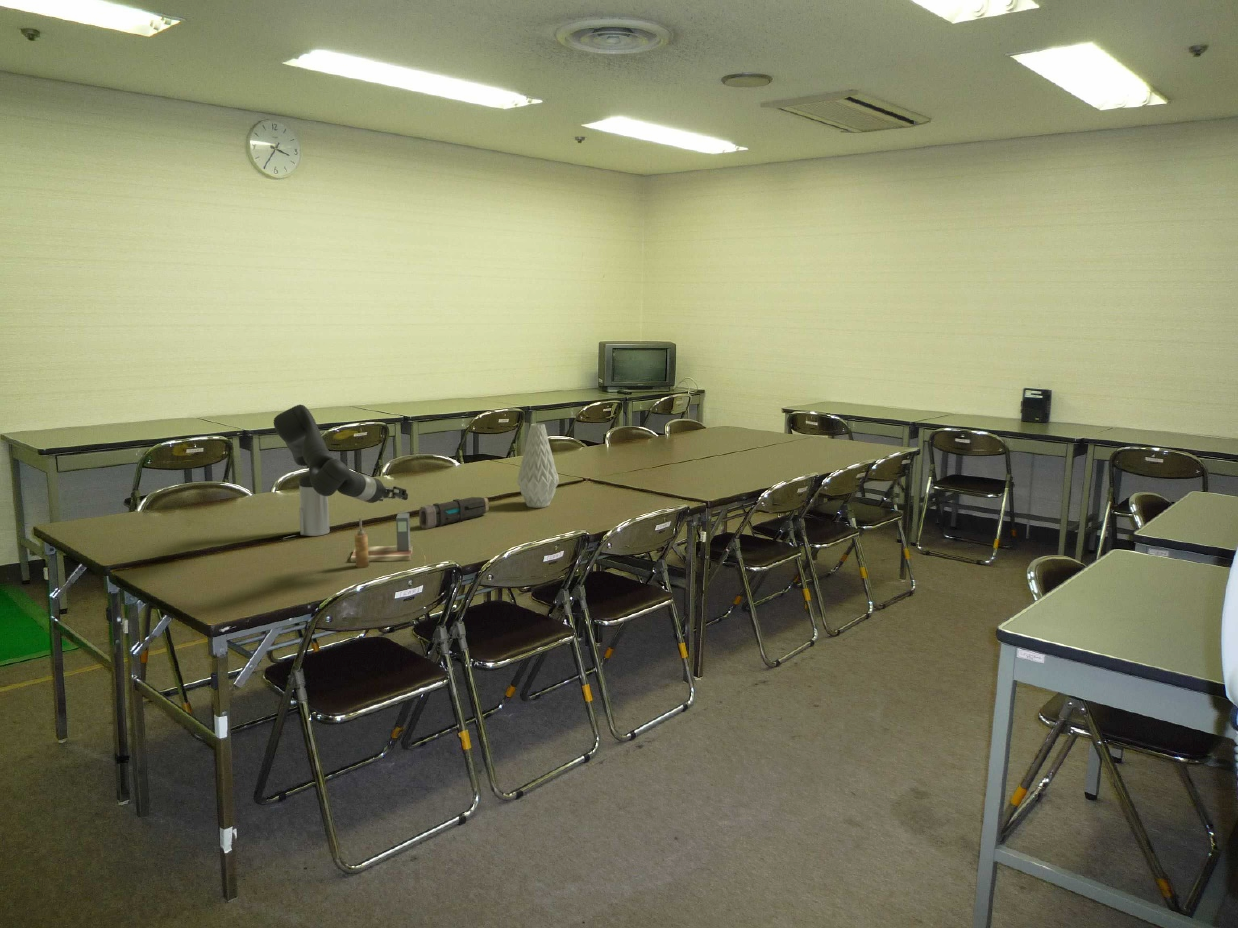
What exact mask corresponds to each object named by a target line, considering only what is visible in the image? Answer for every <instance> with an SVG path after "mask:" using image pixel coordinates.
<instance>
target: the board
mask: <svg viewBox="0 0 1238 928" xmlns="http://www.w3.org/2000/svg"><path fill="white" fill-rule="evenodd" d="M413 546H414V545H411V544H410V549H409V551H397V545H381V546H368V560H369V562H394V561H395V562H402V561H411V558H412V554H413V549H414V547H413ZM350 556H351V557H350V562H351V563H356V557H355V549H354V550H353V553H352V554H351V555H350Z"/></svg>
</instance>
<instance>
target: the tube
mask: <svg viewBox="0 0 1238 928" xmlns="http://www.w3.org/2000/svg"><path fill="white" fill-rule="evenodd" d="M489 503H490V502H489V499H488V498H487V497H482V496H481V497H480V496H471V497H466V498H461V499H459V498H456V499H455V498H454V499H453V500H452V501H451V500H450V501H447V502H442V503H438V502H437V503H436V502H435V503H433V504H432V505H431V504H427V505H421V506H420V508H419V509H418V515H419V516H418V518H419V519H418V521H419V522H418V523H419V526H420V529H424V530H429V529H433V528H436V527H443V525H447V524H452V523H453V524H454V523H461V522H464V521H465V520H470V519H474V518H475V519H476V518H479V517H480V516H483V515H485V514H486V513H487V512H489V510H490V506H489Z"/></svg>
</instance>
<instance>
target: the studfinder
mask: <svg viewBox="0 0 1238 928" xmlns="http://www.w3.org/2000/svg"><path fill="white" fill-rule="evenodd" d="M410 521H411V520H410V513H409V512H403V513H402V512H400V513H397V515H396V518H395V522H396V523H395V524H396V546H397V551H409V549H410V545H411V524H410Z"/></svg>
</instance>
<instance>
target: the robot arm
mask: <svg viewBox="0 0 1238 928" xmlns="http://www.w3.org/2000/svg"><path fill="white" fill-rule="evenodd" d="M273 427H274V429H275V431H276V433H277V435H278V436H279V438H281V440H282V441H283V442H285V445H286V446H287V448H288V450H289V451H290V452H291V454H292V458H293V461H294V462H295V464H296V465H298V466H300V467H301V466H302V467H306V466H307V467H308V472H309V473H306V474H303V475H301V476H300V477H299V479H298V485H299V505H300V507H299V508H298V510H299V511H298V512H299V513H298V515H299V528H300V529H299V531H300V532H299V533H300V536H308V537H315V536H316V537H317V536H323V535H324V536H325V535H327V534H329V533H330V515H329V513H330V512H329V497H331V496H332V495H334V494H335V493H336V492H337V493H340V494H341V495H344V496H348V497H350V498H353V499H356V500H358V501H361V502H365V503H368V504H374V503H376V502H378V501H379V502H384V500H394V499H399V500H403V501H407V500H408V499H409V493H408V492H407V489H406V488H402V487H398V486H396V485H394V486H393V487H391V486H387V485H384V483H383V482H382V481H381V480H380V479H379V478H376V477H373V476H370V475H367V474H364V473H358V472H355V471H354V470H351V469H350V468H349V467H348V466H347V465H346V464H345V463H344V461H343V462H342V461H341V460H340V459H337V458H334V456H333V455H332V453H331V452H330V451H329V449H328V447H327V443H326V441H325V440H324V439H323V436H322V434H321V431H320V428H319V427H318V424H317V422H316V420H315V418H314V416H313V415H312V413H311V411H310V410H309V409H308V408H307V407H306V406H305V405H304V404H297V405H294V406H293V407H290V408H288V409H287V410H284V411H283V412H280V413H278V414H277V415H276V416H275V417H274V418H273ZM390 495H391V496H390Z"/></svg>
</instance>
